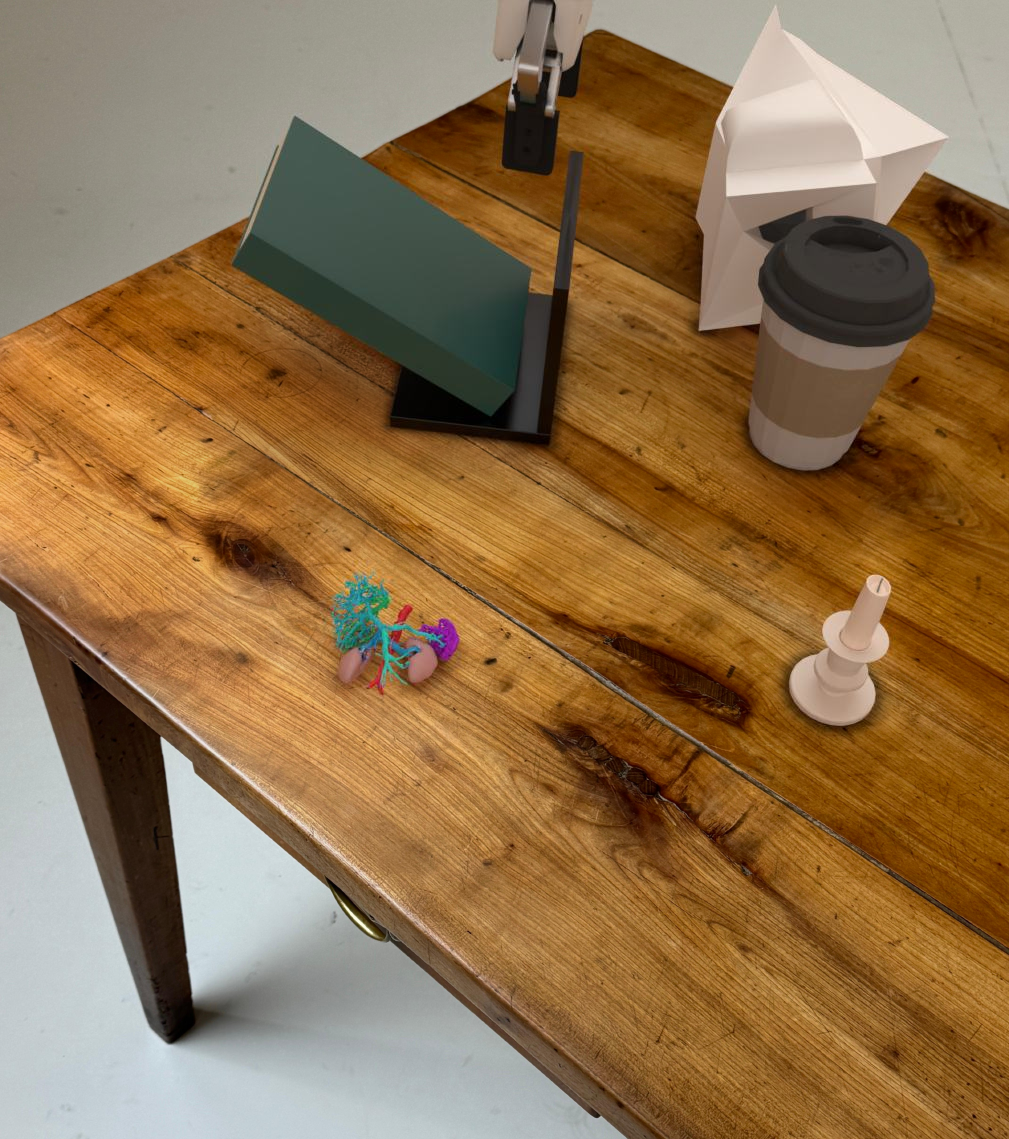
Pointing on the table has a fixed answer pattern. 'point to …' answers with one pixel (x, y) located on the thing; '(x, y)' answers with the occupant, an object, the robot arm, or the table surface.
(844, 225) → the coffee cup
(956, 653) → the table surface
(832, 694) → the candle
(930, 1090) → the table surface
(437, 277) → the book
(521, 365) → the book stand
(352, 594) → the anatomy model
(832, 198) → the folded paper
